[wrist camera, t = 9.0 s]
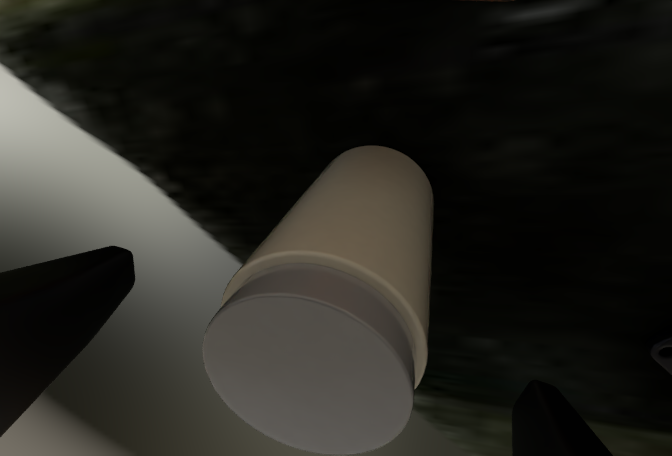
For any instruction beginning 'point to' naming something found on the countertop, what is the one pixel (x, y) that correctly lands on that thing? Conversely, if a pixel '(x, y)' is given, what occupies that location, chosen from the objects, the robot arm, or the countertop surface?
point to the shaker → (332, 310)
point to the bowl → (486, 0)
